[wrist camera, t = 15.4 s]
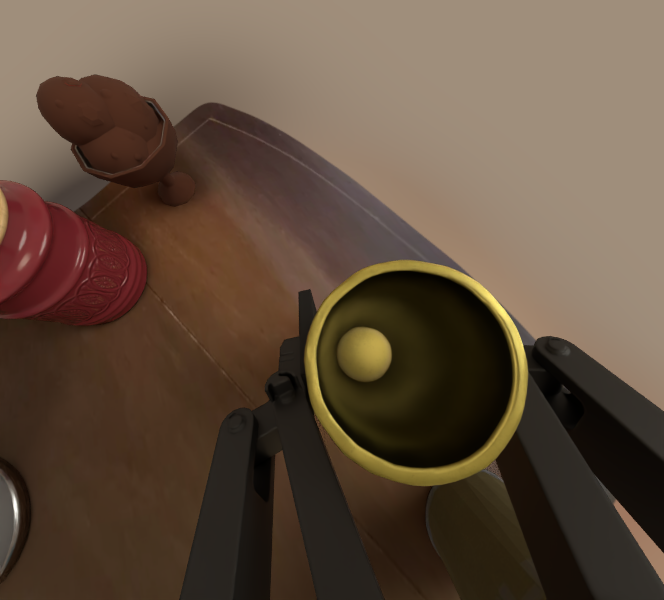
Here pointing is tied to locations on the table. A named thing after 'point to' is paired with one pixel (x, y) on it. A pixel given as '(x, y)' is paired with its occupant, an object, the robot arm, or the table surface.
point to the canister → (481, 540)
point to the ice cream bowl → (116, 133)
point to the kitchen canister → (62, 263)
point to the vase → (416, 372)
